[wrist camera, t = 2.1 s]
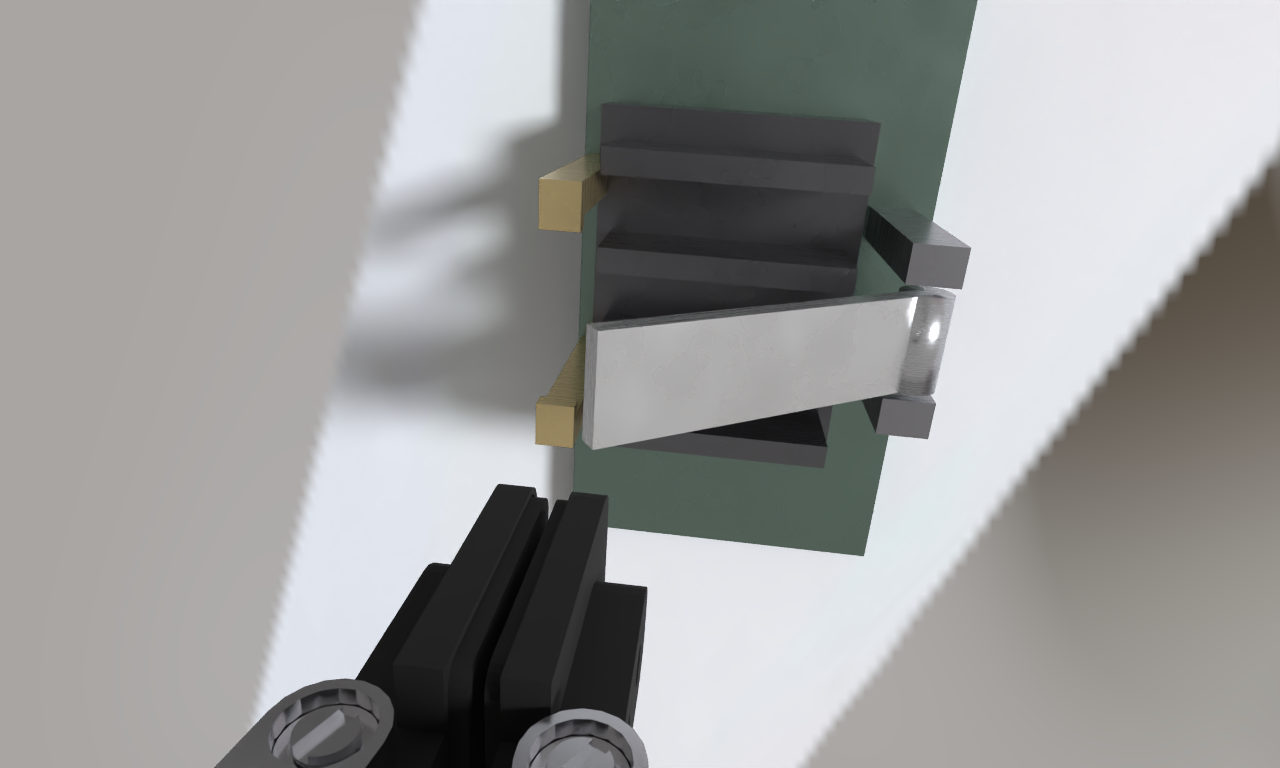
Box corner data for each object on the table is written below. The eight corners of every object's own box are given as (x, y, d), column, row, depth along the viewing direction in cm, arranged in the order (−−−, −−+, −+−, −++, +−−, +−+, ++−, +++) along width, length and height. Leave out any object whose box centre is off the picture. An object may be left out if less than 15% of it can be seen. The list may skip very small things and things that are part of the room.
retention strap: (577, 317, 18) (607, 338, 17) (924, 283, 24) (967, 297, 22) (573, 431, 19) (601, 458, 18) (906, 373, 25) (945, 391, 24)
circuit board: (599, -84, 27) (539, -163, 18) (980, -65, 26) (1105, -137, 17) (576, 509, 36) (529, 643, 27) (859, 541, 35) (902, 689, 26)
